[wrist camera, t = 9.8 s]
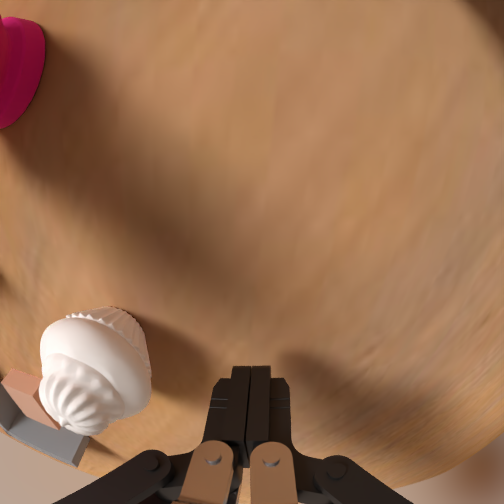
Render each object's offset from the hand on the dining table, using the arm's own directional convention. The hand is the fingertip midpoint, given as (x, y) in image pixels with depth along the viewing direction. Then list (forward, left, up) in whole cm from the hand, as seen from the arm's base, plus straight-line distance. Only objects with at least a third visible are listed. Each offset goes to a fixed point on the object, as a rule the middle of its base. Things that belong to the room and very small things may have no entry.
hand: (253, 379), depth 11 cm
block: (+21, +9, -3) cm, 23 cm away
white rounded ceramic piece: (+8, 0, -3) cm, 8 cm away
